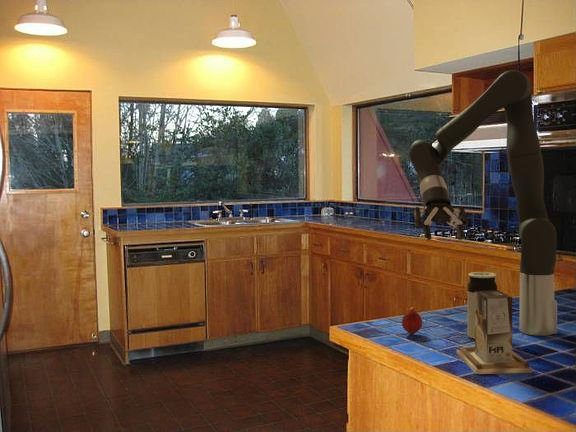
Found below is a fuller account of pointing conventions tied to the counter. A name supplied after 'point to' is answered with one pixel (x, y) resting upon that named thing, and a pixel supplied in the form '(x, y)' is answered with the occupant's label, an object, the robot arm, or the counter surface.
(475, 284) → the travel mug
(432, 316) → the counter surface
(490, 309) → the coffee box
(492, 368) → the wooden tray
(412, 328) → the onion
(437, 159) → the robot arm
